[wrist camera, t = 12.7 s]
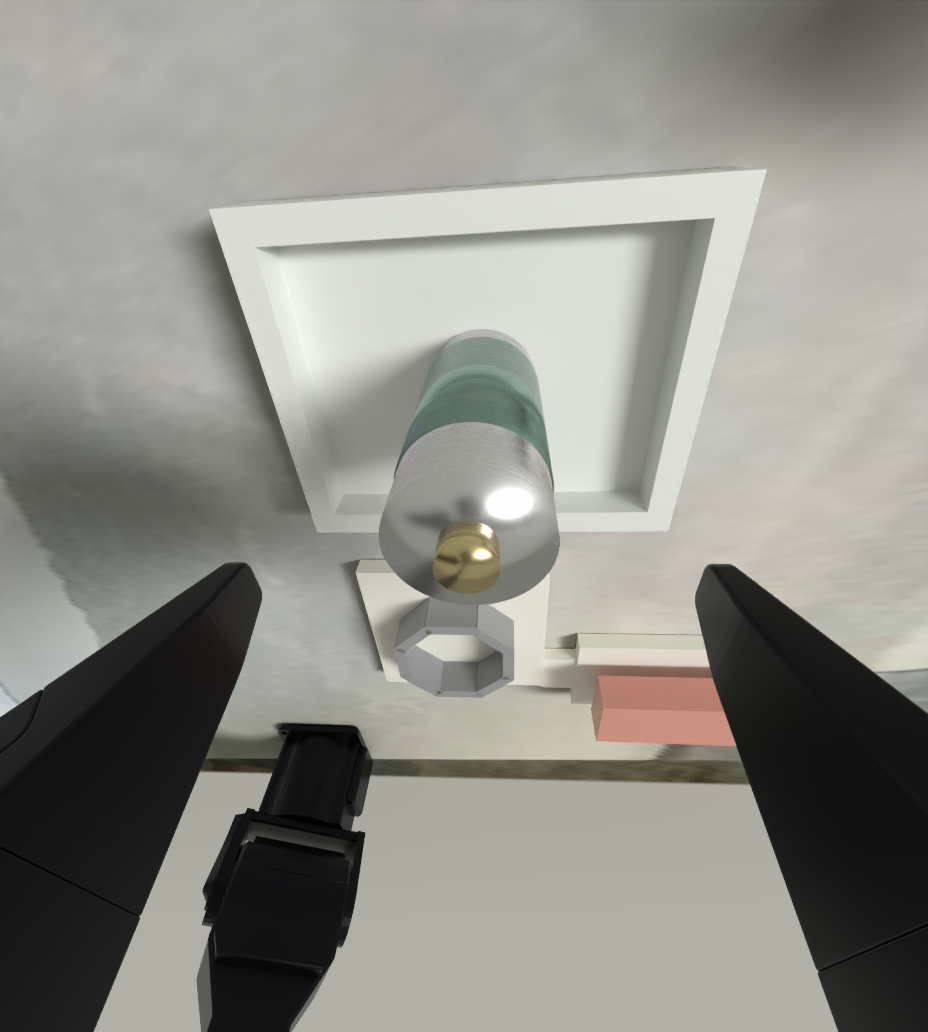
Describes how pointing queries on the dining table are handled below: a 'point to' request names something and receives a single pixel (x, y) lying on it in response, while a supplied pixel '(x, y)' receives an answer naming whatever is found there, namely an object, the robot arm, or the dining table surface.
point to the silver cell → (474, 478)
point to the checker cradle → (505, 643)
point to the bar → (659, 711)
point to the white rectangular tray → (497, 324)
